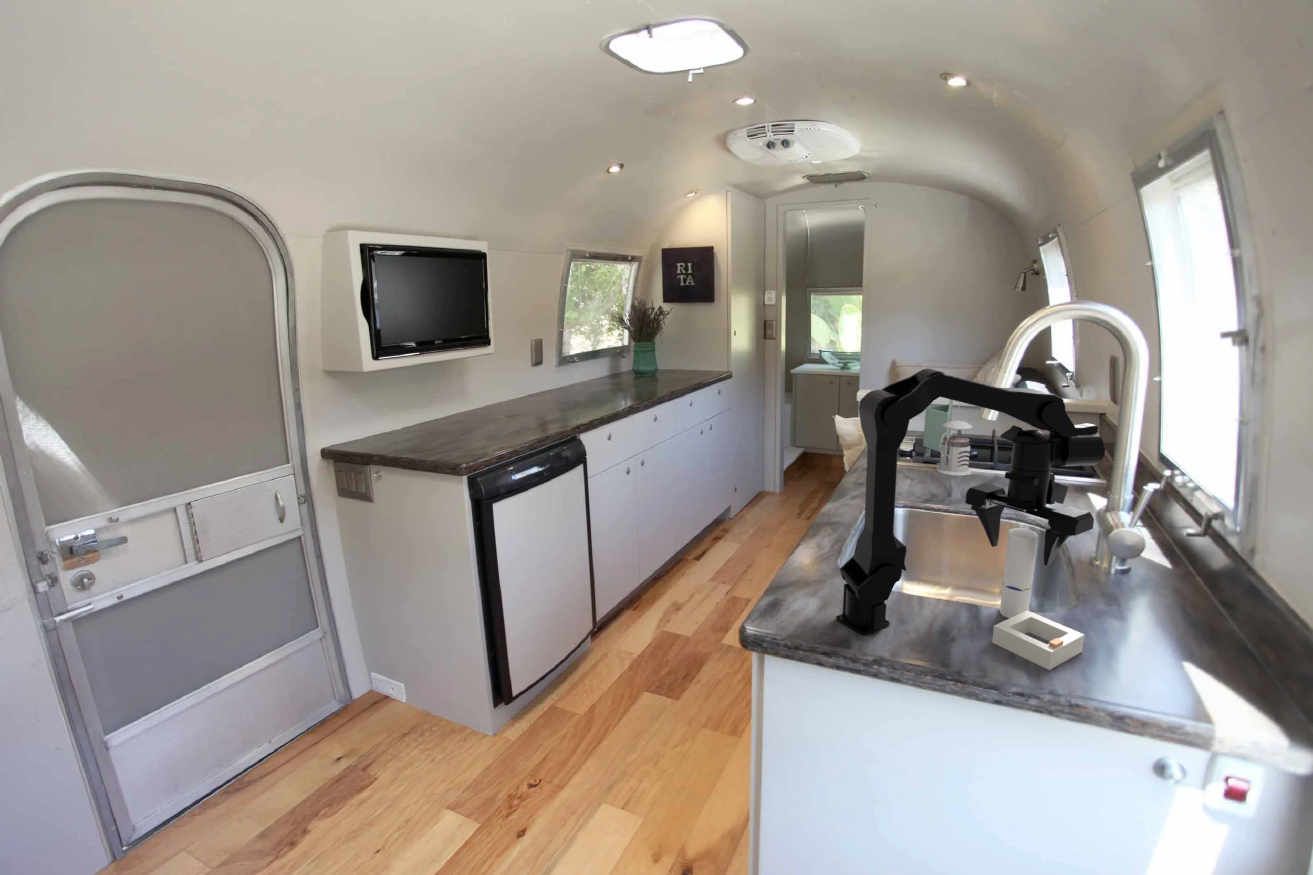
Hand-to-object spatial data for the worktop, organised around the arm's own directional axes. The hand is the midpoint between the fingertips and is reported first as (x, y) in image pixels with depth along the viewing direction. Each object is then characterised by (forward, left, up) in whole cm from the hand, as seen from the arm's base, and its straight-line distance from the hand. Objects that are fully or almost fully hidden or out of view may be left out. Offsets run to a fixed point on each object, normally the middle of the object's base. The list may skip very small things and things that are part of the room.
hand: (1019, 555), depth 110 cm
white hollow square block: (+8, -7, -11) cm, 15 cm away
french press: (-59, +65, -11) cm, 89 cm away
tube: (0, 0, -11) cm, 11 cm away
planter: (-80, +85, -11) cm, 117 cm away
